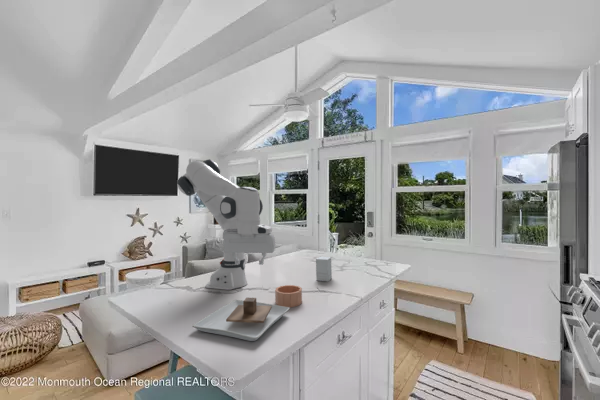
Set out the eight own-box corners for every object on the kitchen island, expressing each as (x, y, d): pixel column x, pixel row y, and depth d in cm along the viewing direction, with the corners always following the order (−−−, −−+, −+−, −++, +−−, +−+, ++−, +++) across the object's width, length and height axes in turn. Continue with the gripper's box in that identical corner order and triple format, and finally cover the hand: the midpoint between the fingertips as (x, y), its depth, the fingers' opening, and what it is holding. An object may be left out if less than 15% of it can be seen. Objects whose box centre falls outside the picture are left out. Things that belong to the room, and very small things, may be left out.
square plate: (235, 307, 128) (235, 298, 128) (290, 315, 117) (290, 306, 117) (191, 334, 103) (191, 323, 103) (257, 348, 92) (256, 336, 92)
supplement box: (332, 278, 168) (331, 257, 168) (327, 281, 161) (327, 259, 161) (320, 277, 171) (320, 256, 171) (315, 280, 165) (315, 258, 164)
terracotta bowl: (273, 306, 126) (273, 293, 126) (278, 297, 138) (278, 285, 137) (300, 307, 124) (300, 293, 124) (302, 297, 136) (302, 285, 136)
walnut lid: (226, 321, 104) (225, 305, 104) (238, 306, 118) (238, 292, 118) (263, 322, 102) (263, 306, 102) (271, 307, 116) (271, 293, 116)
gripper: (219, 229, 108) (220, 265, 108) (272, 229, 106) (273, 266, 106) (225, 227, 114) (226, 262, 114) (275, 227, 112) (276, 262, 112)
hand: (249, 264), depth 110 cm, fingers open, 8 cm apart
